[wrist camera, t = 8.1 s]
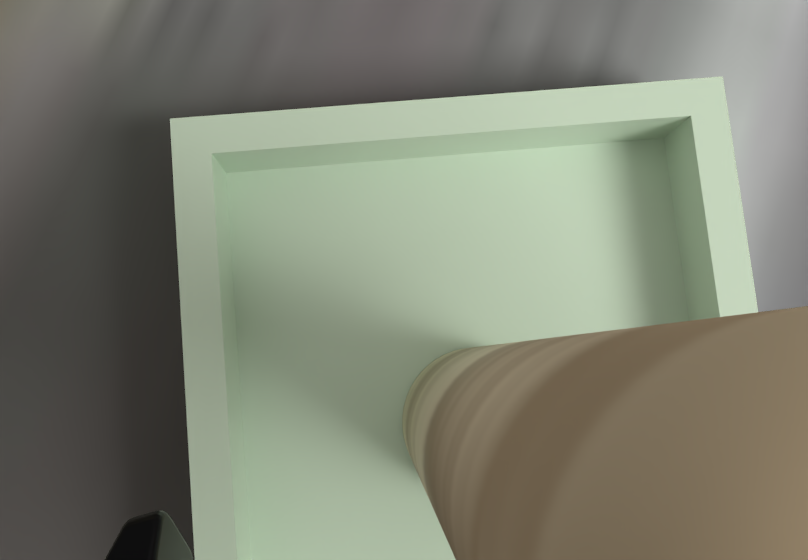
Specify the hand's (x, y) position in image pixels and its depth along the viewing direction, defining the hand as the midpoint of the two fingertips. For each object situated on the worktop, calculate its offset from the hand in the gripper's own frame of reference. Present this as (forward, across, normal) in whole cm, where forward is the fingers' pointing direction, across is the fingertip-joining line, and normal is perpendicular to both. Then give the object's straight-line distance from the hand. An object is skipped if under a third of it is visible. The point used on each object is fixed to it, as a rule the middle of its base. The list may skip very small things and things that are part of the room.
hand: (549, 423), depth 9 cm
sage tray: (+5, 0, +7) cm, 8 cm away
